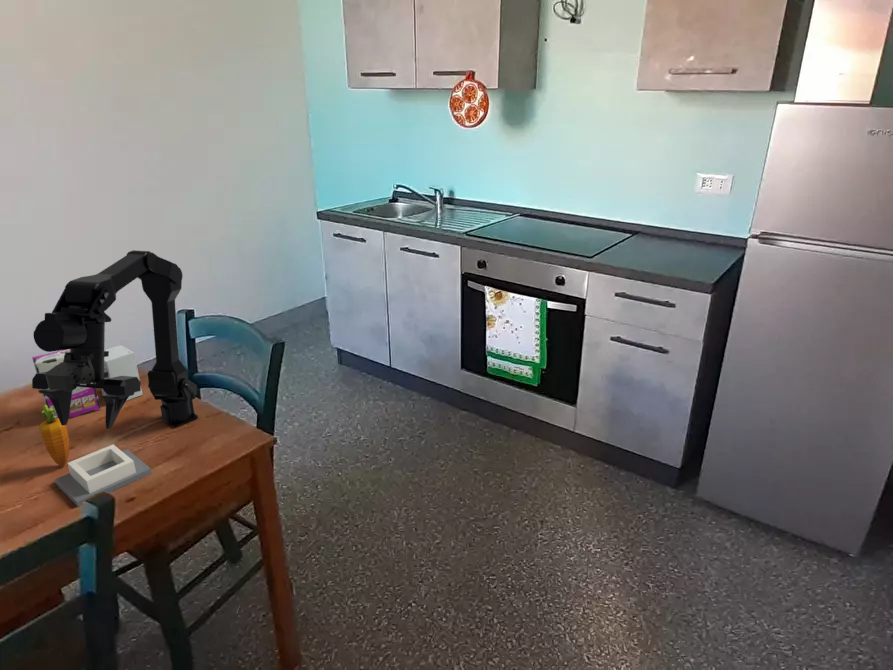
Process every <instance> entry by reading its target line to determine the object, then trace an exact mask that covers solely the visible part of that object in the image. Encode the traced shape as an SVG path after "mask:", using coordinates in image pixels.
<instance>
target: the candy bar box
mask: <svg viewBox="0 0 893 670" xmlns="http://www.w3.org/2000/svg"><path fill="white" fill-rule="evenodd" d="M65 352H70V349H67V350H60V351H52V352H48V353H44V354H40V355H36V356H32V358H31V359H32V362H33V365H34V369H35V374H36V373H42V372H47V371H49V370H51V369H52V368H54V367H55V366H57V365H58V364H61V363H63V361H64V355H65ZM91 384H96V383H91ZM41 394H42V393H41ZM42 398H43V401H44V405H47V406H48V409H49V408H53V411H54V409H55V408H54V406H53V404H52V402H51V400H50V399H49V398H48V397H47V396H45V395H44V394H42ZM53 411H52V412H53ZM97 411H101V405H100V400H99V395H98V391H97V388H87V387H77V388H76V389H74V390H72V397H71V405H70V413H69V419H73V418H76V417H80V416H83V415H86V414H90V413H92V412H97ZM55 416H56V418H58V415H57V413H55ZM69 419H68V420H69Z"/></svg>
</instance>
